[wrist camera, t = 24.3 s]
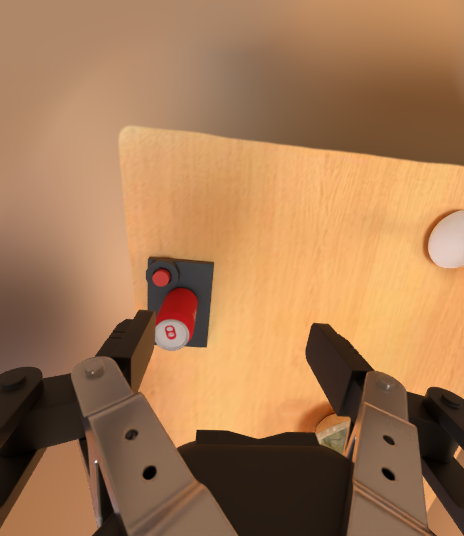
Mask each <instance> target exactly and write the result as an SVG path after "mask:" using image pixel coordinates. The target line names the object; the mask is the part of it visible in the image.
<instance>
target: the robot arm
mask: <svg viewBox="0 0 464 536" xmlns="http://www.w3.org/2000/svg"><path fill="white" fill-rule="evenodd" d="M155 326H156V312H155V311H151V310H139V311H138V312H137V314H136V316H135V317H134V319H126V320H124V321H123V322H121V323H119V324H118V325H117V326H116V328H115V329H114V330H113V333H111V335H110V336H109V338H108V339H107V340H106V341H105V343H104V344H103V346H102V347H101V349H100V350H99V351H98V353H97V354H96V355H95V357H93V358H89V359H87V360H84V361H82V362H81V363H79V364H78V365H76V366H75V367H74V369H73V370H72V372H71V373H70V374H66V375H60V376H54V377H48V378H43V377H42V372H41V371H40V370H39V369H38V368H35V367H20V368H16V369H12V370H9V371H6V372H4V373H2V374H0V528H1V526H2V525H3V523H4V521H5V519H6V518H7V516H8V514H9V513H10V510H11V509H12V507H13V506H14V504H15V502H16V500H17V499H18V497H19V495H20V494H21V492H22V490H23V488H24V486H25V485H26V483H27V482H28V480H29V478H30V476H31V475H32V473H33V471H34V470H35V468H36V466H37V464H38V463H39V461H40V459H41V458H42V456H43V454H44V452H45V451H46V449H47V447H50V446H54V445H57V444H61V443H65V442H68V441H72V440H76V439H77V443H78V446H79V450H80V454H81V457H82V461H83V465H84V468H85V472H86V476H87V480H88V483H89V487H90V492H91V498H92V504H93V509H94V514H95V518H96V523H97V526H98V530H97V531H96V532H95V533H94V534H93V535H92V536H436V535H435V534H434V533H433V532H432V531H431V530H430V529H429V528H428V522H427V513H426V505H425V496H424V487H423V478H422V475H423V477H424V478H425V479H426V481H427V482H428V484H429V485H430V487H431V488H432V490H433V491H434V493H435V494H436V496H437V497H438V498H439V500H440V501H441V503H442V504H443V506H444V507H445V509H446V510H447V512H448V513H449V514H450V516H451V517H452V519H453V520H454V522H455V523H456V525H457V526H458V528H459V529H460V531H461V532H462V534H463V535H464V468H463V467H462V466H461V465H460V464H459V462H458V461H457V460H456V459H455V458H454V457H453V455H454V454H455V452H456V450H457V448H458V446H459V445H460V447H461V448H462V449H463V450H464V399H462V398H461V397H459V396H458V395H456V394H454V393H452V392H450V391H448V390H445V389H442V388H439V387H430V388H428V390H427V392H426V394H425V396H421V395H418V394H414V393H410V392H407V391H406V389H405V388H404V386H403V385H402V384H401V383H400V382H399V381H397V380H396V379H395V378H393V377H391V376H389V375H387V374H385V373H382V372H378V371H375V370H374V369H373V368H372V367H371V366H370V365H369V364H368V363H367V361H366V360H365V359H364V358H363V357H362V356H361V355H360V354H359V352H358V351H357V350H356V349H354V347H353V346H352V345H351V344H350V342H349V341H348V340H346V339H345V338H343V337H342V336H341V335H339V334H337V333H336V332H335V330H334V329H333V328H332V327H331V326H330V325H329V324H322V323H313V324H312V326H311V330H310V334H309V338H308V342H307V346H306V359H307V362H308V364H309V365H310V367H311V369H312V371H313V373H314V375H315V376H316V378H317V380H318V382H319V384H320V386H321V387H322V389H323V391H324V393H325V395H326V397H327V398H328V400H329V402H330V404H331V406H332V408H333V409H334V411H335V413H336V415H337V416H340V417H350V419H351V420H350V423H349V426H348V431H347V436H346V440H345V445H344V450H343V455H342V454H340V453H339V452H337V451H335V450H333V449H331V448H329V447H326V446H324V445H321V444H319V441H318V439H317V436H316V434H315V433H306V432H285V433H281V434H278V435H274V436H270V437H266V438H262V439H256V438H252V437H249V436H245V435H241V434H238V433H234V432H230V431H224V430H197V432H196V441H193V442H189V443H187V444H184V445H182V446H180V447H178V448H176V447H175V445H174V444H173V442H172V440H171V439H170V437H169V435H168V434H167V432H166V431H165V429H164V427H163V426H162V424H161V422H160V421H159V419H158V417H157V416H156V414H155V413H154V411H153V409H152V408H151V406H150V404H149V403H148V401H147V399H146V398H145V396H144V395H143V394H142V393H141V392H138V390H139V387H140V384H141V382H142V379H143V376H144V374H145V371H146V368H147V366H148V363H149V360H150V358H151V355H152V353H153V349H154V344H155ZM137 392H138V393H137Z"/></svg>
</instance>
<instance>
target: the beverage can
mask: <svg viewBox="0 0 464 536" xmlns="http://www.w3.org/2000/svg"><path fill="white" fill-rule="evenodd" d="M197 305H198V302H197V298H196V296H195V294H194V293H193V292H192V291H190V290H188V289H185V288H176V289H173V290H171V291H170V292H169V293H168V294H167V296H166V298H165V300H164V302H163V304H162V306H161V308H160V310H159V312H158V315H157V317H156V326H155V342H156V344H157V345H158V346H159V347H161V348H163V349H165V350H169V351H175V350H179V349H181V348H183V347H184V346H185V345H186V344H187V343H188V342H189V341H190V339H191V338H192V335H193V332H194V325H195V318H196V312H197Z"/></svg>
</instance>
